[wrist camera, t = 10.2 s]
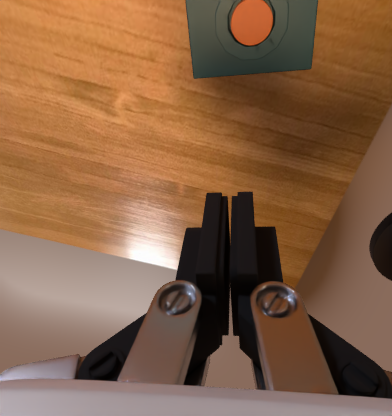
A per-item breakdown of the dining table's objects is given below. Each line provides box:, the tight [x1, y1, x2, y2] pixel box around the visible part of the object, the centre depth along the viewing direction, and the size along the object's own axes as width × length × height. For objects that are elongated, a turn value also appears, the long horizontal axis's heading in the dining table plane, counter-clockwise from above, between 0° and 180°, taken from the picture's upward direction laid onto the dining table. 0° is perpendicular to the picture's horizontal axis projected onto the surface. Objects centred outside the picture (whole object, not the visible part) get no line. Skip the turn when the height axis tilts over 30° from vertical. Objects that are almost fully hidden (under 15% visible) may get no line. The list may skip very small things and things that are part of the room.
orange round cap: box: [231, 0, 273, 46], centre depth 29 cm, size 4×4×2 cm
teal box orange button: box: [186, 0, 318, 79], centre depth 31 cm, size 12×10×5 cm
